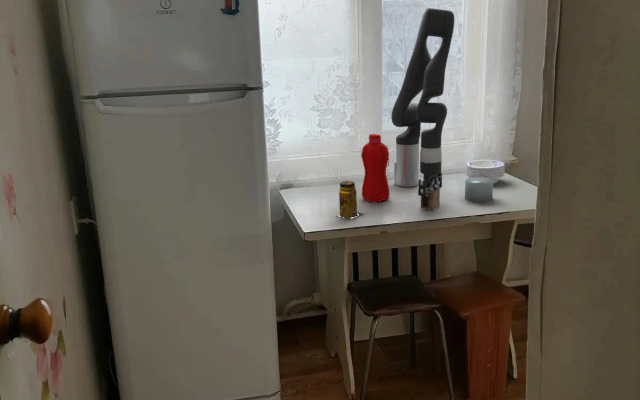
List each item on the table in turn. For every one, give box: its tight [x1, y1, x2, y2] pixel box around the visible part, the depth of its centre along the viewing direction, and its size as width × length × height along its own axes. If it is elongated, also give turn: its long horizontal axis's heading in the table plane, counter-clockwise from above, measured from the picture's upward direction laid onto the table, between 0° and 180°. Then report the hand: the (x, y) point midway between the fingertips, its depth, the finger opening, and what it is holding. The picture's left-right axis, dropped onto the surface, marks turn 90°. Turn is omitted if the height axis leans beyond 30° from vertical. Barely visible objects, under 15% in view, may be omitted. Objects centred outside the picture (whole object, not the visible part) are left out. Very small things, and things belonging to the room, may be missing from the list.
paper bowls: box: [465, 159, 506, 185], centre depth 247 cm, size 15×15×8 cm
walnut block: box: [420, 189, 441, 211], centre depth 217 cm, size 5×5×6 cm
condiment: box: [338, 180, 365, 219], centre depth 211 cm, size 7×8×12 cm
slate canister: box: [464, 177, 494, 204], centre depth 224 cm, size 10×10×7 cm
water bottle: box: [360, 133, 390, 203], centre depth 227 cm, size 9×11×25 cm
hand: (430, 203), depth 217 cm, fingers open, 8 cm apart
